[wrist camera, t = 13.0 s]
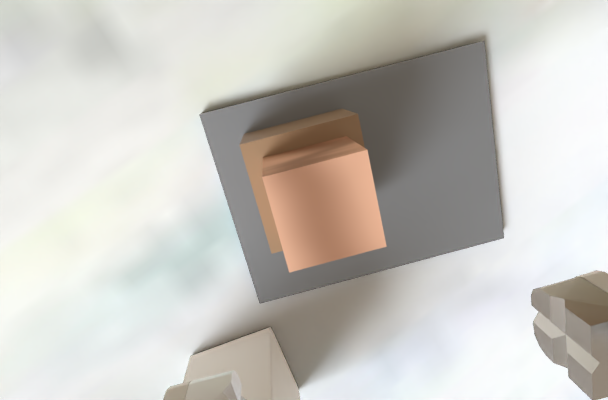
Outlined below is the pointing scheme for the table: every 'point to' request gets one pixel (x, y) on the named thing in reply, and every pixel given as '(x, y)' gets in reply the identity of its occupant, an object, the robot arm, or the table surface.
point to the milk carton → (249, 366)
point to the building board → (371, 162)
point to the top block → (323, 202)
